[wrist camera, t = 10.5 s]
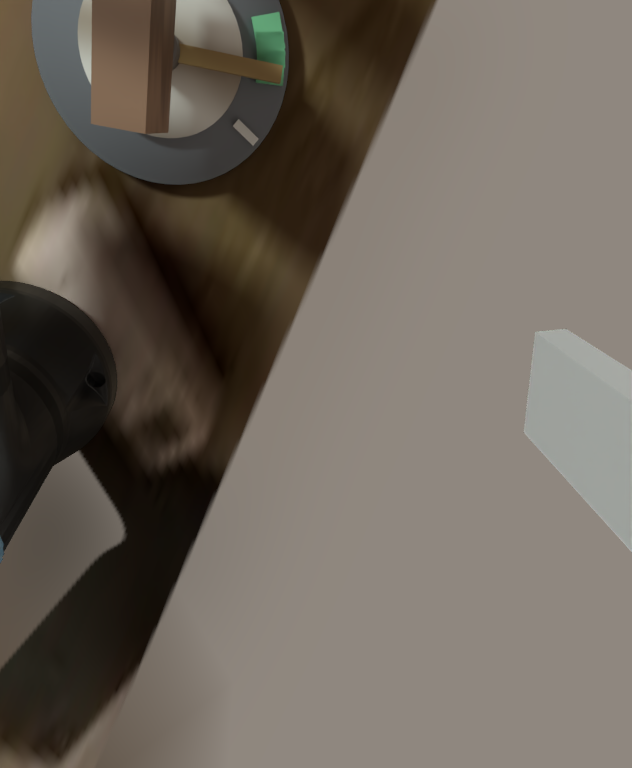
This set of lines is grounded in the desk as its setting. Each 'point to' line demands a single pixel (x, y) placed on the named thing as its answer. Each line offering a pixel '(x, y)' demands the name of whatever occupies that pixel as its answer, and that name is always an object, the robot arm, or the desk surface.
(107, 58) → the dial
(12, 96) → the desk surface
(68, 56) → the plate
